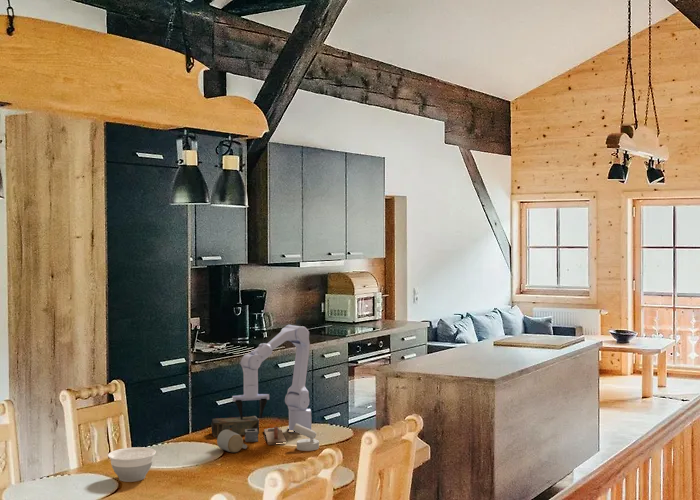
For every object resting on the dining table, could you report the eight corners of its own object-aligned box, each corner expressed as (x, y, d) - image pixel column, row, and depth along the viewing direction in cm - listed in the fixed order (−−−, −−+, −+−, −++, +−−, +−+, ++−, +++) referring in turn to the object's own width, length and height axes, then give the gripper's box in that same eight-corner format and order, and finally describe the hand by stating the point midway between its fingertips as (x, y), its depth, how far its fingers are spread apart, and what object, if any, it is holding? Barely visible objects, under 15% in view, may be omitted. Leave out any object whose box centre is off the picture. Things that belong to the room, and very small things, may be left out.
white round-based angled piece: (293, 420, 328) (319, 420, 328) (294, 445, 328) (319, 445, 328) (291, 425, 320) (318, 425, 319) (292, 450, 320) (318, 450, 320)
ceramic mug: (228, 455, 315) (228, 434, 314) (216, 450, 321) (216, 430, 321) (251, 450, 322) (251, 430, 322) (239, 446, 328) (239, 426, 328)
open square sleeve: (257, 438, 339) (257, 428, 339) (258, 441, 334) (258, 431, 334) (244, 439, 338) (244, 429, 338) (245, 442, 333) (245, 432, 333)
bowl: (137, 468, 298) (137, 444, 297) (165, 476, 288) (165, 451, 287) (98, 479, 285) (98, 454, 285) (126, 488, 275) (126, 462, 275)
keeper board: (280, 431, 351) (280, 417, 351) (286, 444, 330) (285, 429, 330) (264, 431, 350) (263, 418, 350) (268, 445, 328) (268, 430, 328)
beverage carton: (259, 434, 347) (259, 418, 347) (213, 438, 342) (213, 422, 341) (256, 429, 355) (256, 414, 355) (210, 433, 349) (210, 417, 349)
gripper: (267, 381, 341) (267, 415, 342) (231, 383, 338) (232, 417, 338) (269, 384, 334) (270, 418, 335) (233, 386, 331) (233, 421, 331)
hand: (251, 418), depth 336 cm, fingers open, 7 cm apart
